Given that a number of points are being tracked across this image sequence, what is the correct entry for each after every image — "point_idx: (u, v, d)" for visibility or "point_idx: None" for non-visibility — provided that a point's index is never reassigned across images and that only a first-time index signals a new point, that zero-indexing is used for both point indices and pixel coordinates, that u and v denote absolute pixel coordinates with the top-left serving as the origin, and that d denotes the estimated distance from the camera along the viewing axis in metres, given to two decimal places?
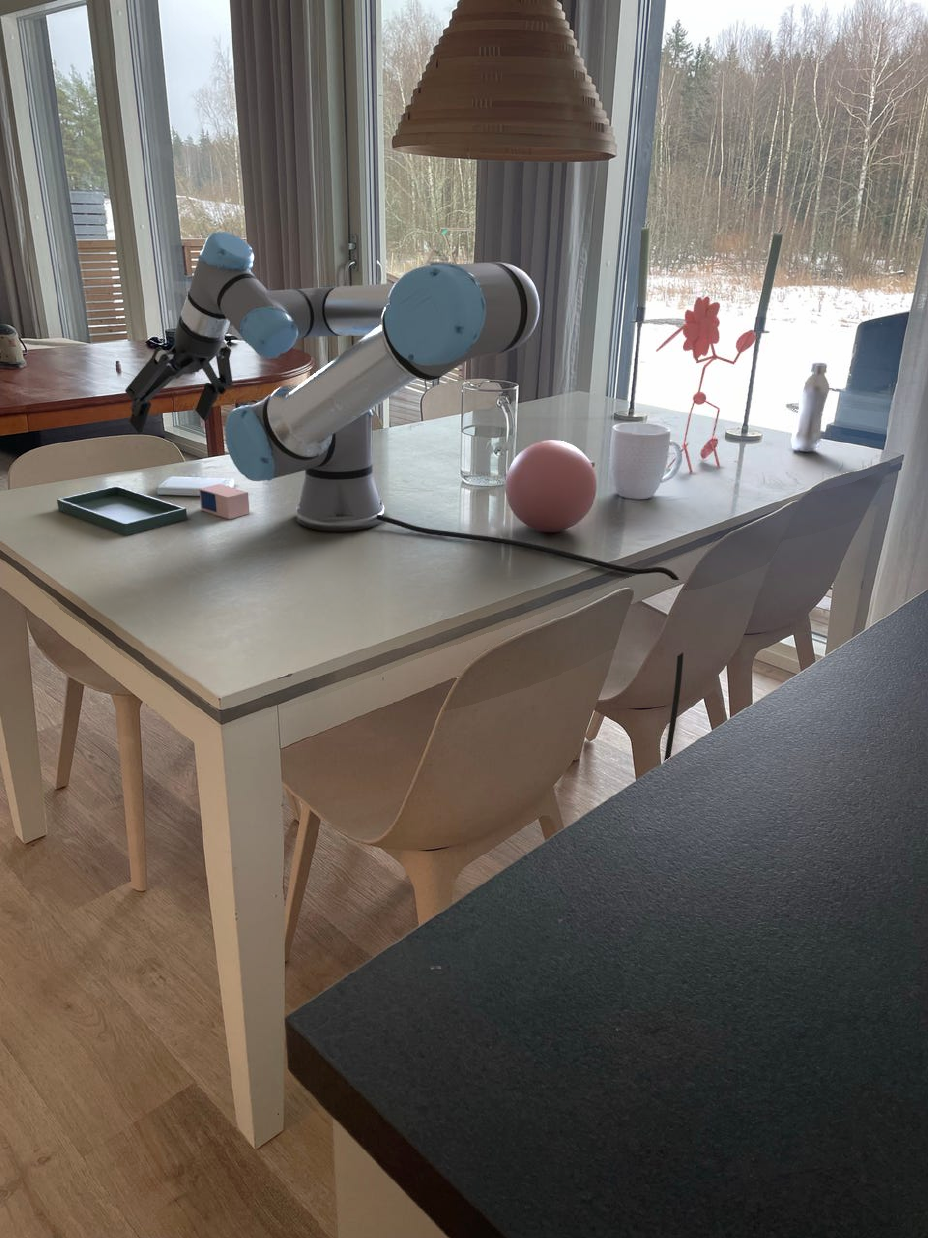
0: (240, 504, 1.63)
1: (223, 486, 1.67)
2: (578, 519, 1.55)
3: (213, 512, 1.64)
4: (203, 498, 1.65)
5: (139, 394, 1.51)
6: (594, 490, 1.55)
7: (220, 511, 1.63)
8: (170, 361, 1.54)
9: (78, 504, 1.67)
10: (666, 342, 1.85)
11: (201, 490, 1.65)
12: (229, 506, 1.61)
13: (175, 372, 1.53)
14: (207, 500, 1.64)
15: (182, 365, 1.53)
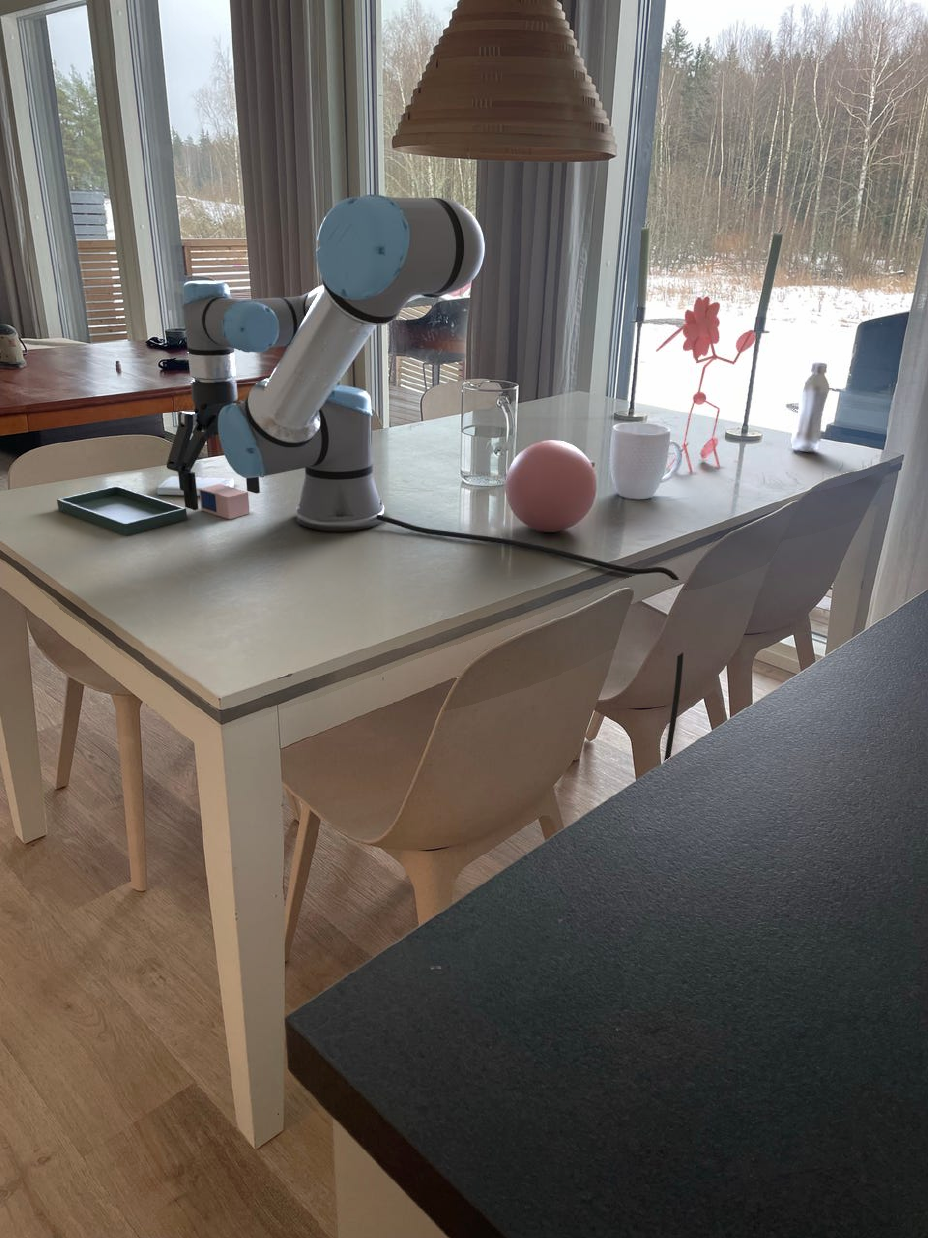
0: (240, 504, 1.63)
1: (223, 486, 1.67)
2: (578, 519, 1.55)
3: (213, 512, 1.64)
4: (203, 498, 1.65)
5: (178, 461, 1.54)
6: (594, 490, 1.55)
7: (220, 511, 1.63)
8: (199, 429, 1.59)
9: (78, 504, 1.67)
10: (666, 342, 1.86)
11: (201, 490, 1.65)
12: (229, 506, 1.61)
13: (205, 432, 1.57)
14: (207, 500, 1.64)
15: (208, 424, 1.57)
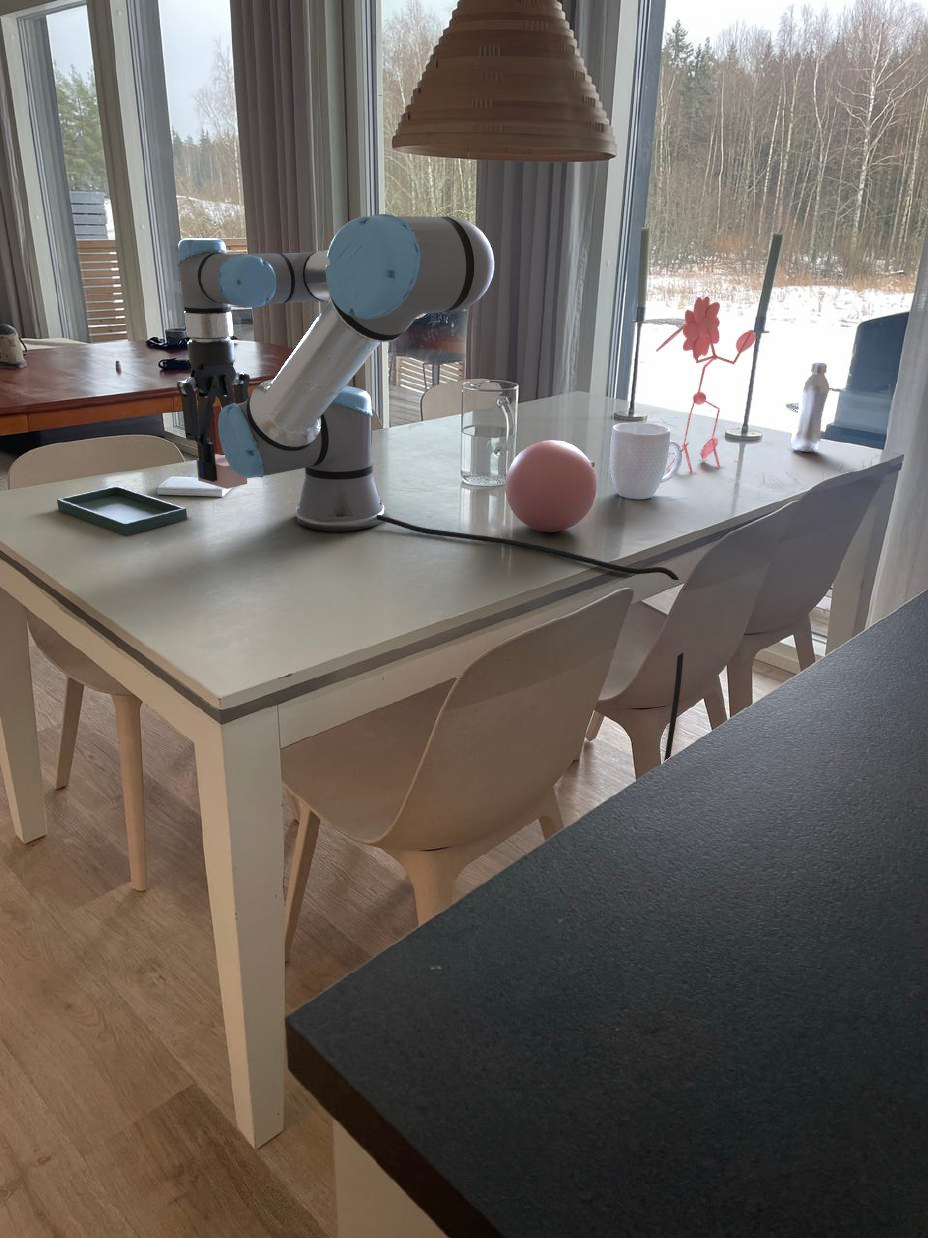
0: (238, 474, 1.61)
1: (220, 456, 1.64)
2: (578, 519, 1.55)
3: (210, 482, 1.62)
4: (200, 468, 1.63)
5: (195, 431, 1.55)
6: (594, 490, 1.55)
7: (218, 481, 1.61)
8: (201, 393, 1.57)
9: (78, 504, 1.67)
10: (666, 342, 1.86)
11: (198, 460, 1.62)
12: (226, 475, 1.59)
13: (208, 398, 1.55)
14: None
15: (208, 388, 1.55)
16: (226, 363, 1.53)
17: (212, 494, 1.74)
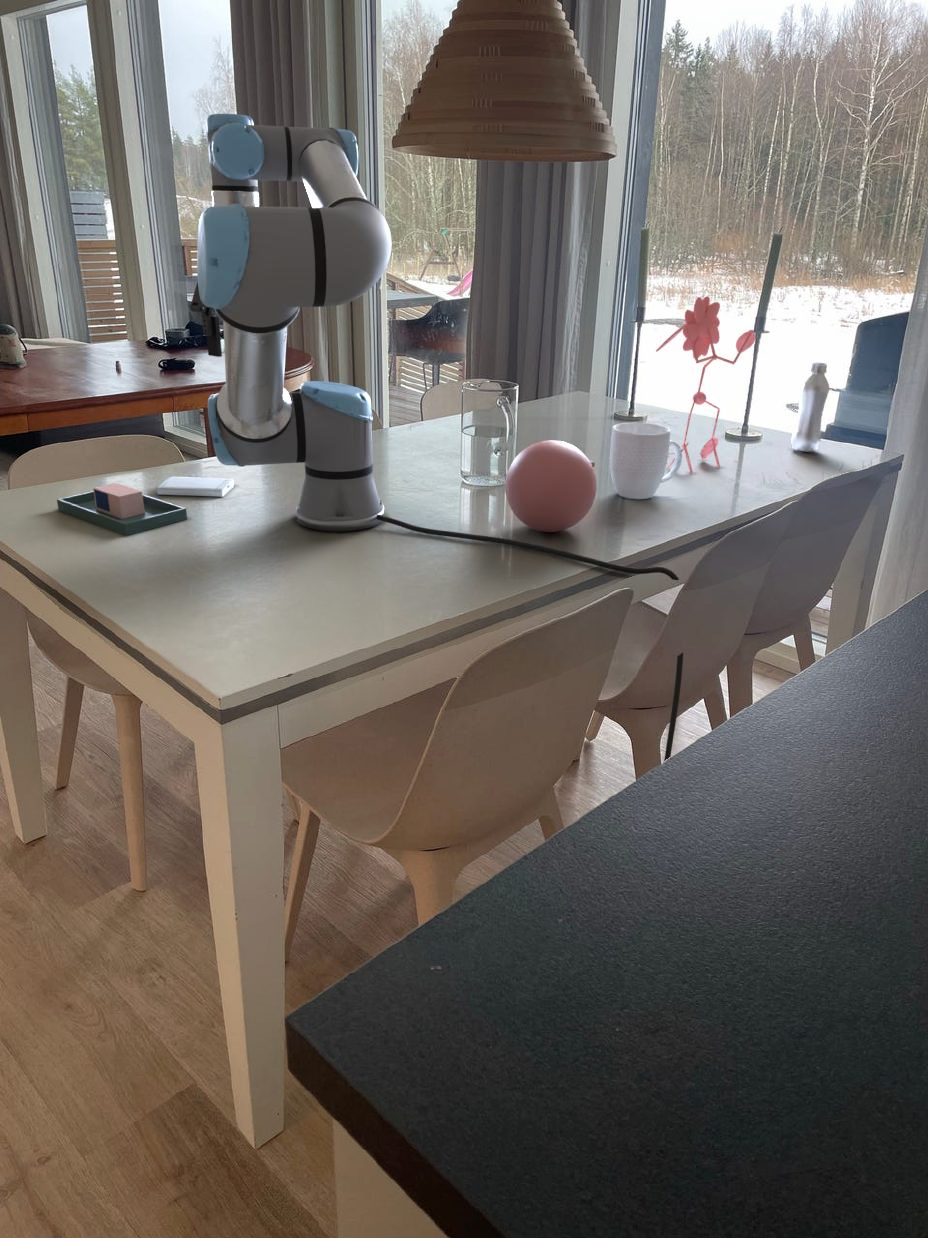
0: (134, 503, 1.61)
1: (118, 485, 1.64)
2: (578, 519, 1.55)
3: (107, 511, 1.62)
4: (97, 497, 1.62)
5: (202, 301, 1.52)
6: (594, 490, 1.55)
7: (113, 511, 1.60)
8: None
9: (78, 504, 1.67)
10: (666, 342, 1.86)
11: (95, 489, 1.62)
12: (121, 506, 1.59)
13: None
14: (100, 500, 1.62)
15: None
16: None
17: (212, 494, 1.74)
